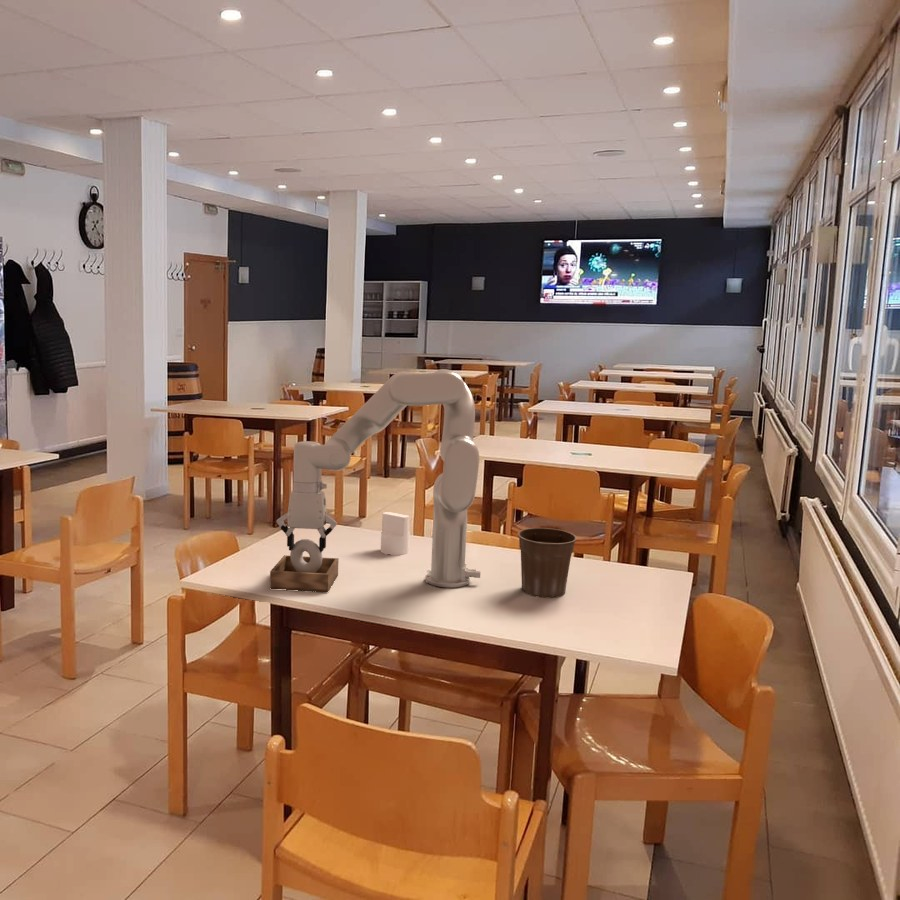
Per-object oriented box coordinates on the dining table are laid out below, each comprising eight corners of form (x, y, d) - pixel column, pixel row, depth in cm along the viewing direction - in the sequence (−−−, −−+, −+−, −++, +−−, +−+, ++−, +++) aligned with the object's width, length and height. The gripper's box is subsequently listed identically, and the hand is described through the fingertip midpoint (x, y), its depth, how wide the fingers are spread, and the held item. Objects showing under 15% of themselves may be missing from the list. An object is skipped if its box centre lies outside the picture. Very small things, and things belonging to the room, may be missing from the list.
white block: (414, 551, 265) (415, 514, 264) (397, 557, 258) (399, 519, 256) (391, 546, 270) (392, 510, 268) (374, 551, 262) (376, 514, 261)
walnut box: (338, 575, 236) (338, 558, 236) (327, 592, 221) (328, 574, 220) (283, 572, 237) (284, 555, 236) (269, 589, 222) (270, 571, 221)
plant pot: (569, 604, 221) (574, 545, 219) (510, 596, 225) (513, 539, 222) (575, 586, 237) (579, 531, 234) (519, 579, 240) (522, 525, 238)
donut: (324, 575, 228) (325, 540, 227) (317, 579, 225) (318, 543, 224) (294, 569, 232) (295, 535, 231) (287, 573, 229) (287, 537, 228)
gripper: (341, 486, 228) (340, 548, 231) (278, 483, 229) (278, 544, 232) (336, 491, 221) (335, 555, 224) (272, 488, 222) (271, 552, 224)
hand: (306, 549), depth 228 cm, fingers closed on donut, 7 cm apart
